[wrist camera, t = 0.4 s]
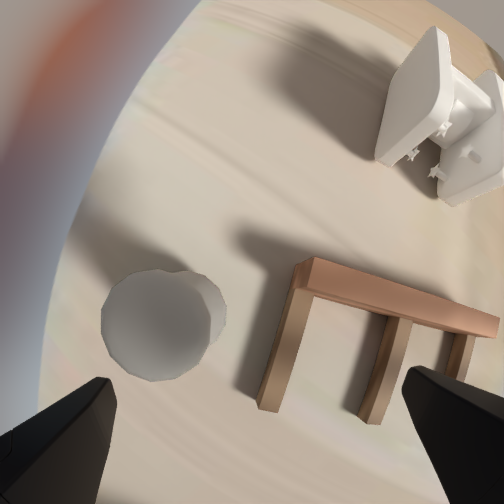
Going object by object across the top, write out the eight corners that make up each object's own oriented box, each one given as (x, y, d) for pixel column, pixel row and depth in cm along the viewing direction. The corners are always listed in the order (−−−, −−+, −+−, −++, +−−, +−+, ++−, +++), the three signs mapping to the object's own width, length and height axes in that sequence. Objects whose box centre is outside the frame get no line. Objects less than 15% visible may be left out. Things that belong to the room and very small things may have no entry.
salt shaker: (159, 351, 21) (92, 409, 9) (147, 279, 22) (65, 259, 9) (232, 340, 22) (245, 396, 9) (219, 268, 23) (216, 232, 10)
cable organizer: (387, 76, 28) (432, 15, 17) (452, 120, 29) (506, 75, 17) (365, 167, 26) (436, 101, 14) (445, 216, 26) (526, 182, 14)
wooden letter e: (437, 419, 23) (466, 432, 18) (255, 400, 21) (264, 425, 17) (467, 317, 24) (499, 317, 20) (295, 264, 23) (314, 256, 18)
